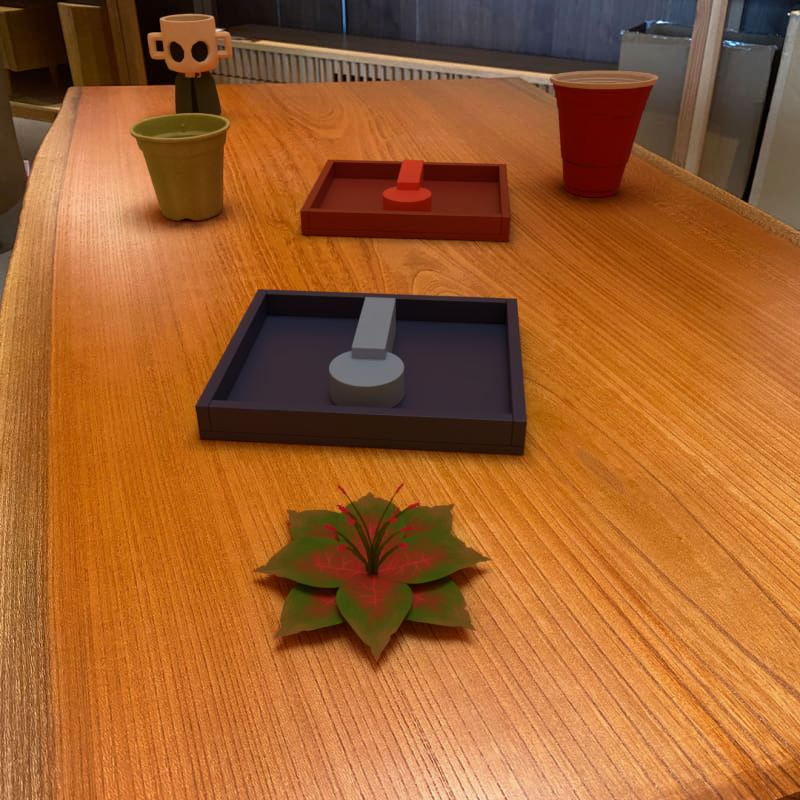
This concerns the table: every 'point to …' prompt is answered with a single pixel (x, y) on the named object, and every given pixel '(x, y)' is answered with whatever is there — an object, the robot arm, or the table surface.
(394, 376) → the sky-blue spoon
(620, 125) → the plastic cup
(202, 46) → the pink mug head figurine
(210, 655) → the table surface
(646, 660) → the table surface
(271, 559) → the lily flower
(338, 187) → the brick tray
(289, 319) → the navy tray
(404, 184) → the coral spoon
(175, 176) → the plant pot
